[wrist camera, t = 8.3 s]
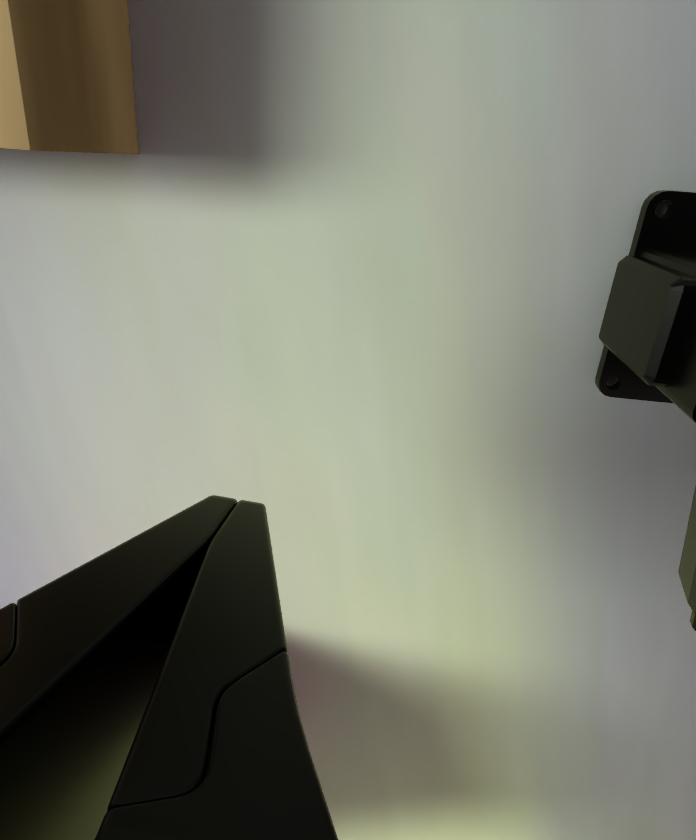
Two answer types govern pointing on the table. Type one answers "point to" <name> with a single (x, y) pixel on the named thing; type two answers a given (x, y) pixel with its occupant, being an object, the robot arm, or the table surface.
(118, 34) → the tan wooden block
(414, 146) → the table surface
